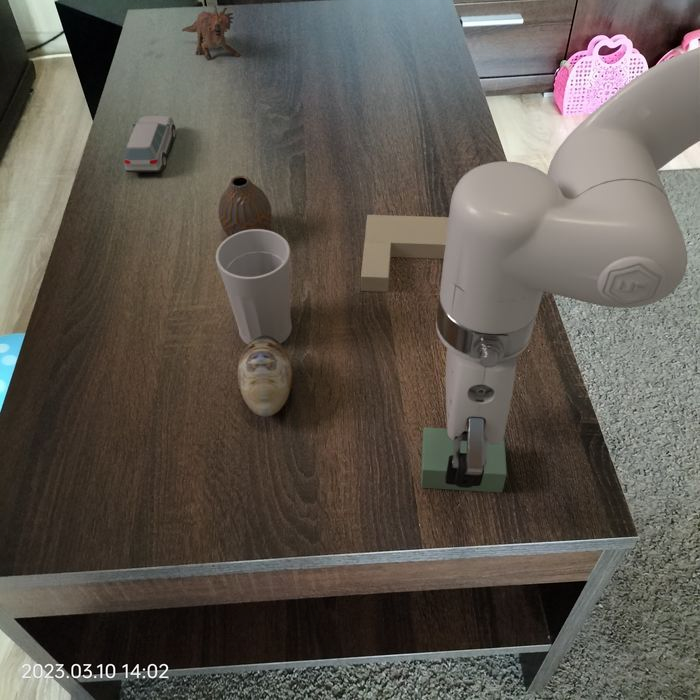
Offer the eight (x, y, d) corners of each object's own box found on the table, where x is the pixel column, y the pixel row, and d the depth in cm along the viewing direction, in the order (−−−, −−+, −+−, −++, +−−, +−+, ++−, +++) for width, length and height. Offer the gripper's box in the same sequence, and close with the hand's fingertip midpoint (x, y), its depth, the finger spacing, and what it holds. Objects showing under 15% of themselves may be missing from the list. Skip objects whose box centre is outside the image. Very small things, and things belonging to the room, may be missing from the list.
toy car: (179, 130, 116) (173, 101, 112) (163, 179, 107) (156, 150, 103) (144, 130, 116) (136, 102, 112) (125, 179, 107) (116, 150, 104)
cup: (307, 341, 86) (300, 266, 76) (242, 361, 84) (226, 287, 75) (286, 297, 90) (276, 221, 81) (224, 315, 89) (207, 240, 80)
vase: (252, 211, 102) (244, 158, 95) (284, 234, 98) (278, 180, 92) (213, 234, 99) (201, 181, 92) (245, 258, 95) (235, 205, 89)
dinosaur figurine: (250, 60, 130) (243, 7, 123) (223, 71, 127) (214, 19, 120) (207, 34, 137) (198, -17, 130) (180, 45, 134) (170, -7, 127)
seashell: (295, 429, 77) (288, 382, 71) (241, 433, 77) (230, 386, 71) (293, 361, 84) (287, 313, 78) (244, 364, 83) (233, 316, 77)
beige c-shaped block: (486, 233, 97) (488, 218, 96) (490, 296, 90) (492, 281, 88) (367, 229, 99) (367, 214, 97) (361, 291, 91) (360, 276, 89)
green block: (499, 450, 75) (504, 431, 72) (502, 493, 72) (507, 474, 69) (421, 446, 76) (423, 426, 73) (420, 488, 72) (422, 469, 70)
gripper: (544, 407, 51) (506, 523, 64) (526, 244, 62) (496, 370, 75) (436, 401, 51) (420, 517, 64) (437, 239, 62) (423, 366, 75)
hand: (461, 438), depth 70 cm, fingers open, 9 cm apart
